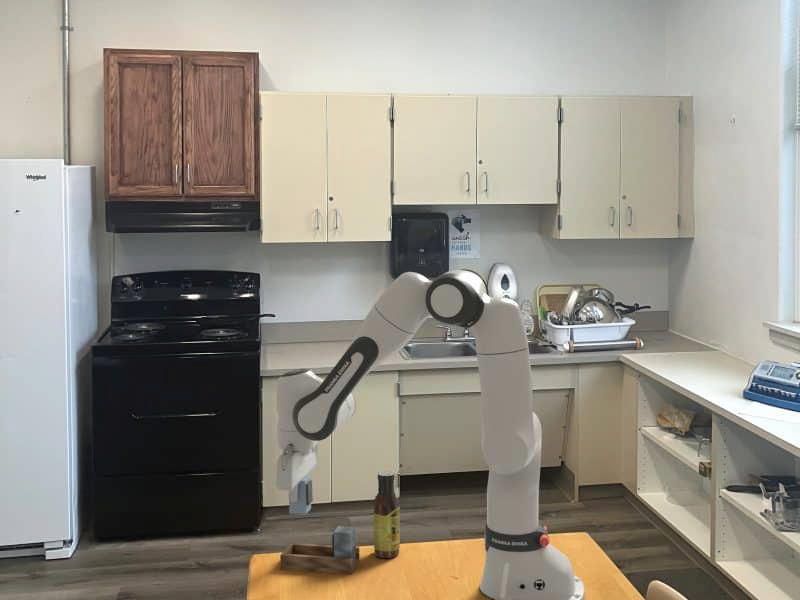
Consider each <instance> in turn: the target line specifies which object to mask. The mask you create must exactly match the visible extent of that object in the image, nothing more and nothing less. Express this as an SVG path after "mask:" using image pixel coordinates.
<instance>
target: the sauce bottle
mask: <svg viewBox="0 0 800 600" xmlns="http://www.w3.org/2000/svg"><path fill="white" fill-rule="evenodd" d="M377 481H378V482H377V483H378V484H377V485H378V488H377V491H378V492H377V495H376V496H374V500H373V513H372V514H373V548H374V555H375V556H376V557H379V558H381V559H390V558H394V557H396V556H398V555H399V554H400V547H401V546H400V545H401V543H400V542H401V541H400V540H401V539H400V534H401V531H400V527H401V525H400V521H401V520H400V518H401V517H400V504H399V500H398V498H397V495H396V492H395V482H394V481H395V473H394V472H393V471H387V470H386V471H380V472H378V473H377Z"/></svg>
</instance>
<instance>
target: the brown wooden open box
mask: <svg viewBox="0 0 800 600" xmlns="http://www.w3.org/2000/svg"><path fill="white" fill-rule="evenodd" d="M331 536H332V537H331V543H332V544H330V545H329V544H316V543H303V542H302V543H299V542H290V543H289V544H288V545H287V546H286V547H285V549H283V551H282V552H281V553H280V554H279V557H280V558H279V559H280V560H279V561H280V562H279V563H280V565H279V566H280V570H284V569H289V570H288V571H303V572H312V573H314V572H316V573H327V574H328V573H329V574H340V575H341V574H342V575H353V573H354V571H355V570H356V568H357V566H358V564H359V563H360V558H361V557H360V546H359V547H358V546H356V526H343V525H338V526H337V527H336V529H335V530H334V531H333V533H332V535H331Z"/></svg>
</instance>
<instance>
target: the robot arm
mask: <svg viewBox="0 0 800 600" xmlns="http://www.w3.org/2000/svg"><path fill="white" fill-rule="evenodd" d="M429 317H433V319H435V320H436V321H438V322H440V323H443V324H445V325H450V326H455V327H460V328H464V329H471V330H472V332H473V335H474V340H475V348H476V349H475V351H476V359H477V366H478V369H477V370H478V374H479V375H478V376H479V383H480V423H481V424H480V426H481V427H480V428H481V430H480V431H481V452H482V457H483V461H484V462H485V464H486V465H487V466H488V468H489V470H488V471H489V472H488V480H487V481H488V482H487V488H486V523H485V527H484V533H483V534H484V537H483V538H484V539H483V540H484V549H485V559H484V567H483V571H482V577H481V579H480V583H479V589H480V591H481V593H483V594H484V595H485V596H487V597H489V598H491V599H494V600H584V599H585V595H586V594H585V593H586V592H585V585H584V582H583V580H581V578H580V577H578V575H575V573H574V569H573V566H572V564H571V561H570V559H569V558H568V557H567V556H566V555H565V554H564V553H563V552H561V551H560V550H558V549H557V548H555V546H553V545H551V543H550V536H549V532H548V531H549V530H547V526H546V525H544V526H542V525H541V524H539V492H540V489H539V488H540V476H541V461H542V459H541V458H542V457H541V456H542V438H543V437H542V434H543V431H542V430H543V429H542V425H541V422H540V421H541V420H540V419H539V417H538V415H537V413H535V412H534V407H533V406H534V405H533V404H534V403H533V386H534V385H533V375H532V367H531V358H530V357H531V356H530V349H529V348H530V347H529V340H528V335H527V330H526V326H525V321H524V318H523V315H522V311H521V309H520V306H519V304H518V303H517V302H515V301H514V300H512V299H509V298H507V297H502V296H501V297H500V296H499V297H491V296H489V288H488V284H487V281H486V280H485V279H484V277H483V276H481V274H479V273H478V272H476V271H474V270H470V269H466V268H463V269H453V270H449V271H446V272H444V273H442V274H441V275H439V276H436V277H435V278H434V279H433V280H430V279H428V278H427V277H426V276H424V275H422V274H420V273H419V272H412V271H407V272H403V273H401V274H400V275H399V276H398V277H397V278H396V279H395V280H394V281H393V282H391V283H390V285H389V286H388V287H387V288H386V289H385V290H384V291H383V293H382V294H381V295H380V296H379V298H378V299H377V300H376V302H375V303H374V304H373V306H372V307H371V309H370V311H369V312H368V313H367V315H366V316H365V318H364V320H363V322H362V323H361V326H360V327H359V329H358V330H357V332H356V334H355V336H354V338H353V339H352V340H351V342H350V344H349V346H348V347H347V349H346V351H345V352H344V353H343V355H342V356H341V358H340V359H339V360H338V362H337V363H336V364H335V366H333V368H332V370H331V371H330V372H329V373H328V374H327V376H325V379H323V378H321V377H320V376H318V375H316V374H315V373H314V372H313V371H312V370H311V369H308V368H301V369H300V368H299V369H293V370H291V371H287V372H285V373H283V374H282V375H280V376H279V378H278V381H277V386H276V412H277V414H278V415H277V416H278V420H277V425H276V430H277V431H276V433H277V434H276V435H277V437H276V439H277V448H278V449H279V450H282V453H281V454H280V455H279V456H278V457H277V462H276V484H275V485H276V488H277V490H278V491H288V495H289V494H290V501H291V502H297V500H298V499H299V493H298V490H297V487H298V483H299V482H300V481H301V480H302V479H303V478H304V477H305V476H306V475H309V473H310V472H311V471H312V470H313V469H314V468H316V467H317V462H318V458H319V457H318V455H319V454H318V453H319V442H320V441H323V440H326V439H327V438H329V437H330V436H331V434H333V433H334V431H336V430H338V429H339V428H340V427H342V426H343V425H345V424H346V423H347V422H348V421H349V420H350V419H351V418H352V417H353V416H354V414H355V412H356V408H357V406H356V405H357V403H356V399H355V396H354V395H353V391H354V390H355V389H356V387H357V386H358V384H359V383H360V382H361V381H362V380H363V378H364V377H366V375H367V374H369V373H370V372H371V371H373V370H374V369H375V368H376V367H378V366H380V365H381V364H382V363H383V364H384V362H386V361H387V360H389V359H391V358H393V357H394V356H395V355H397V354H398V353H399V352H400V351H401V350H403V349H404V347H406V345H407V344H408V343H409V342H410V341H411V340H412V338H413V337H414V336H415V335H416V333H417V331H418V330H420V327H421V326H422V325H423V323H425V321H427V319H428V318H429Z"/></svg>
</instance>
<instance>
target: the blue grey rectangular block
mask: <svg viewBox="0 0 800 600" xmlns="http://www.w3.org/2000/svg"><path fill="white" fill-rule="evenodd" d="M297 490H298V493H299V499H298V500H297V502H291V501H290V494H289V493H288V507H289V509H288V510H289V511H288V512H289V514H292V515H293V514H295V515H307V514H308V513H309V511H310V510H311V509H312V502H313V501H314V499H313V498H314V497H313V496H314V495H313V479H311V474H308V475H306V476H305V477H304V478H303V479H302V480H301V481H300V482H299V483H298V487H297Z"/></svg>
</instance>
